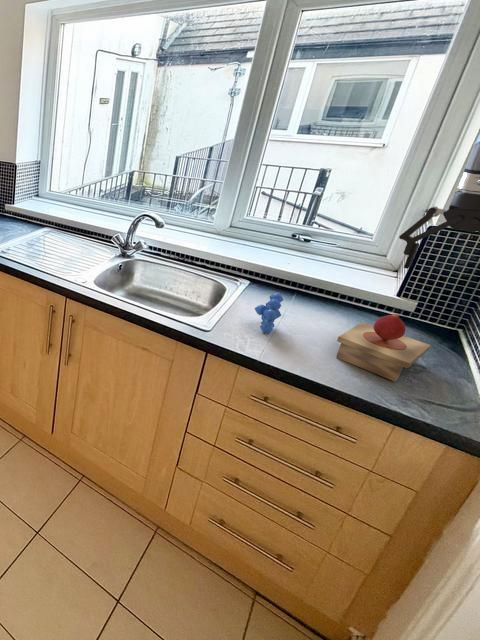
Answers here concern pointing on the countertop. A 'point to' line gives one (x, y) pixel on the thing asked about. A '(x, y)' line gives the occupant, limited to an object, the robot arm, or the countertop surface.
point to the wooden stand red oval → (379, 351)
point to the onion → (389, 327)
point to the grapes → (269, 312)
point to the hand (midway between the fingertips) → (443, 275)
